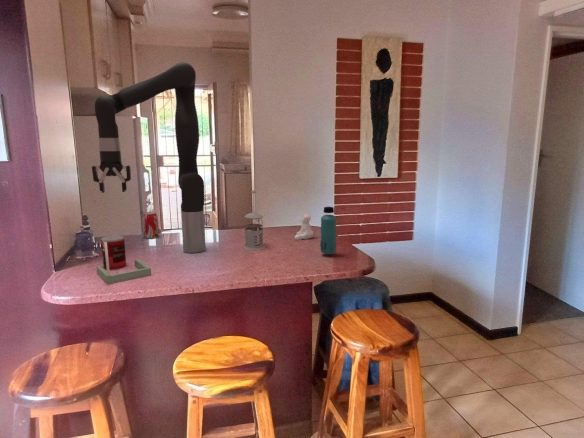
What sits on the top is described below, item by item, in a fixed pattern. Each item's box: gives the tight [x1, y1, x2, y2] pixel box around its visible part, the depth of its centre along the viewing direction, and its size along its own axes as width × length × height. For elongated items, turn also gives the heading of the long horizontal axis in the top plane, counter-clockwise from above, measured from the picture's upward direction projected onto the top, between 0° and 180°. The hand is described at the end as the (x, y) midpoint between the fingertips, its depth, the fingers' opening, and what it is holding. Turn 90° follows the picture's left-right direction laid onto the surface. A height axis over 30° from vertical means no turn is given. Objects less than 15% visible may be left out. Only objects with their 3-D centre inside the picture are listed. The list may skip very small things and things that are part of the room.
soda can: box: [141, 211, 160, 240], centre depth 196 cm, size 7×7×12 cm
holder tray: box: [96, 241, 152, 285], centre depth 144 cm, size 14×14×14 cm
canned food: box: [100, 235, 127, 270], centre depth 154 cm, size 8×8×11 cm
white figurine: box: [294, 213, 314, 241], centre depth 195 cm, size 10×9×12 cm
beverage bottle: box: [320, 206, 338, 255], centre depth 166 cm, size 6×7×20 cm
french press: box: [242, 190, 266, 251], centre depth 179 cm, size 10×12×25 cm
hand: (113, 192), depth 163 cm, fingers open, 7 cm apart
